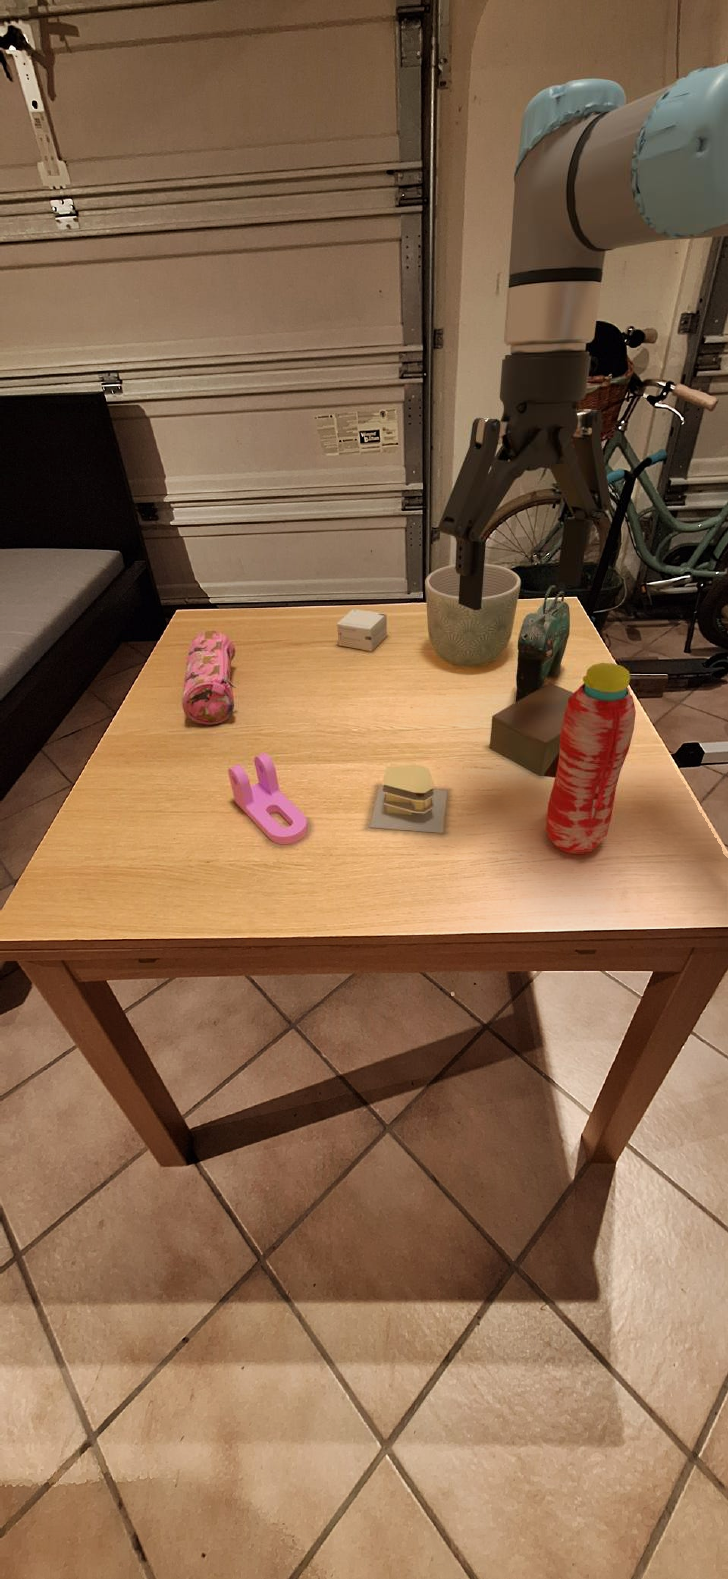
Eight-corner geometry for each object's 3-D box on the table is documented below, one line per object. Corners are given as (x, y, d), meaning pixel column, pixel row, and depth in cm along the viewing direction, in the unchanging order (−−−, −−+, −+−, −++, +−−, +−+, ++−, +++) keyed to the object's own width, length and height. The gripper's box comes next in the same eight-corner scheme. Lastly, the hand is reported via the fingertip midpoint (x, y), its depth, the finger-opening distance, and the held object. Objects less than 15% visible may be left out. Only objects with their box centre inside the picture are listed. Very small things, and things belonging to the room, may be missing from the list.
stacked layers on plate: (369, 827, 86) (367, 796, 83) (379, 786, 93) (377, 756, 90) (442, 833, 85) (443, 802, 81) (447, 791, 92) (448, 760, 88)
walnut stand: (597, 738, 100) (604, 705, 96) (541, 776, 93) (546, 743, 89) (545, 713, 106) (550, 682, 102) (489, 748, 99) (492, 715, 95)
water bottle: (527, 805, 88) (551, 640, 73) (584, 801, 88) (620, 635, 72) (551, 867, 79) (583, 694, 63) (614, 863, 79) (663, 688, 63)
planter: (417, 674, 118) (417, 596, 109) (431, 634, 131) (432, 561, 121) (510, 681, 115) (518, 600, 105) (515, 639, 127) (523, 564, 118)
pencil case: (241, 724, 109) (232, 678, 103) (187, 731, 108) (174, 686, 102) (239, 665, 125) (231, 623, 119) (192, 672, 124) (181, 630, 118)
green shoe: (537, 725, 103) (554, 608, 91) (499, 716, 106) (510, 602, 93) (569, 670, 117) (587, 561, 104) (534, 663, 119) (548, 557, 106)
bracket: (235, 801, 92) (226, 764, 88) (268, 786, 95) (260, 748, 90) (280, 850, 84) (272, 811, 80) (315, 831, 86) (309, 792, 82)
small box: (337, 646, 129) (335, 622, 126) (354, 630, 135) (353, 607, 131) (371, 652, 126) (370, 628, 123) (388, 636, 132) (387, 612, 128)
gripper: (613, 348, 63) (579, 567, 74) (402, 354, 52) (402, 607, 64) (679, 344, 57) (631, 582, 69) (458, 351, 47) (446, 628, 59)
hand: (520, 594), depth 67 cm, fingers open, 13 cm apart
